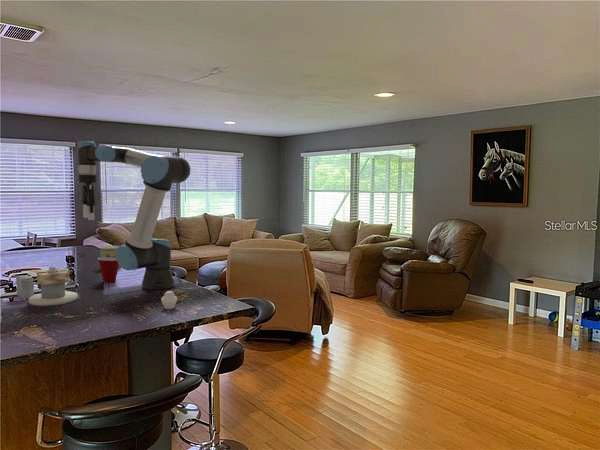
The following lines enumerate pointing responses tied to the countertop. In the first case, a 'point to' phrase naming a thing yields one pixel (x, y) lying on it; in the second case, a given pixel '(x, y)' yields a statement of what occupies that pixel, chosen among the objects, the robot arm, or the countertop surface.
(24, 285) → the medicine box
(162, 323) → the countertop surface
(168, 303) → the muffin
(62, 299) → the post stand
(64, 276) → the slotted arch block
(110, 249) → the canned food
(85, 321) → the countertop surface
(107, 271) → the plastic cup
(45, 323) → the countertop surface
